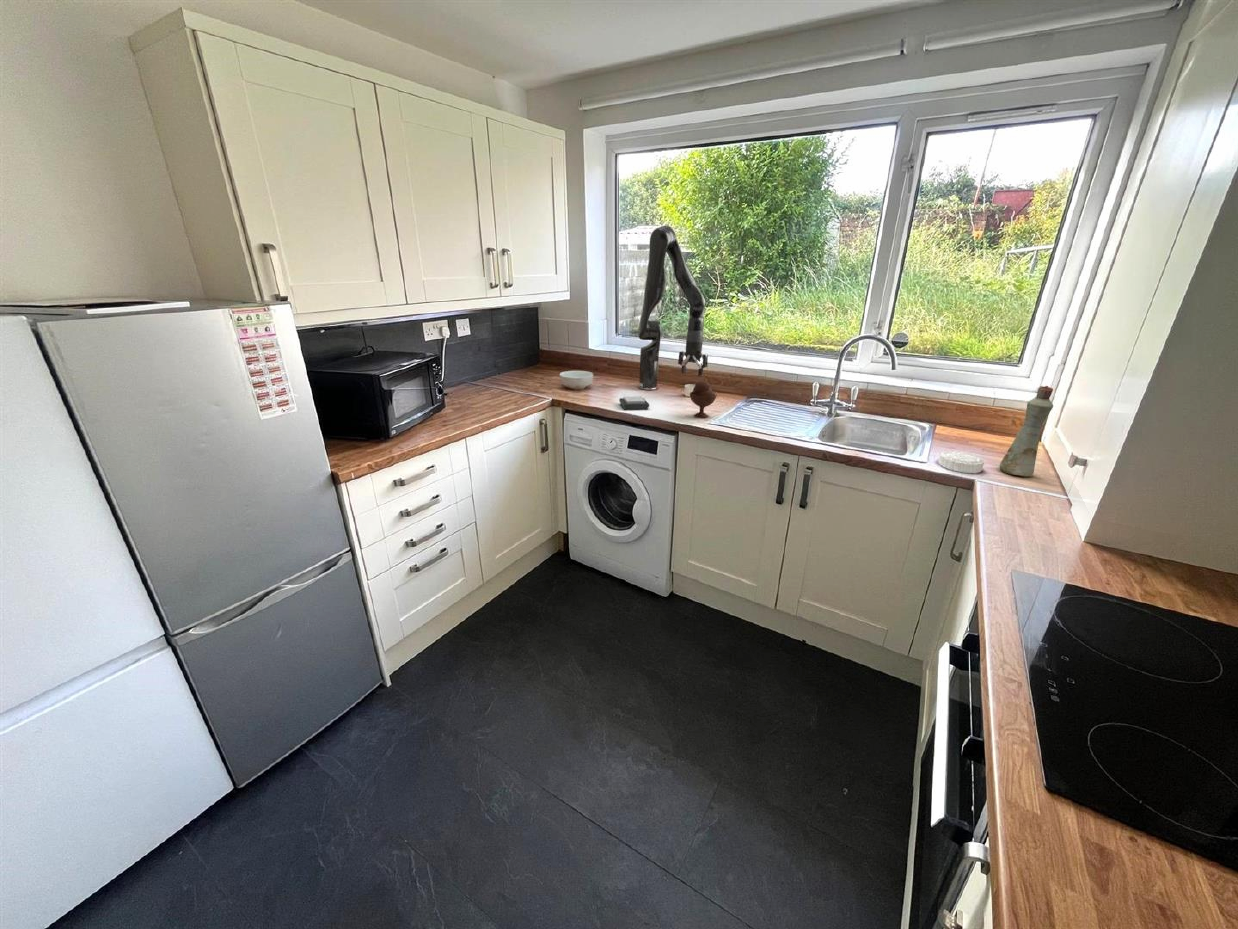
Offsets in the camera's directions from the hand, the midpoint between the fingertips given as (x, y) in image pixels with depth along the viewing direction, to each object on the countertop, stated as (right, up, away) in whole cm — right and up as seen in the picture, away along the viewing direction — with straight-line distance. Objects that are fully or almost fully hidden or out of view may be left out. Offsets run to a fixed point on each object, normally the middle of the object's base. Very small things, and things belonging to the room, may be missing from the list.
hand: (691, 375), depth 236 cm
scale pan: (-28, -15, -19) cm, 37 cm away
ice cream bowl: (0, -22, -29) cm, 36 cm away
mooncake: (+76, -43, -75) cm, 115 cm away
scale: (-28, -17, -18) cm, 37 cm away
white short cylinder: (0, -9, +5) cm, 10 cm away
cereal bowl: (-56, -4, +13) cm, 57 cm away
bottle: (+91, -45, -79) cm, 128 cm away
